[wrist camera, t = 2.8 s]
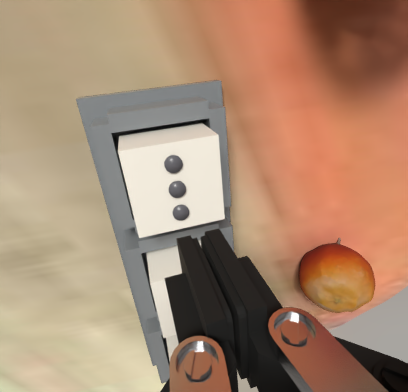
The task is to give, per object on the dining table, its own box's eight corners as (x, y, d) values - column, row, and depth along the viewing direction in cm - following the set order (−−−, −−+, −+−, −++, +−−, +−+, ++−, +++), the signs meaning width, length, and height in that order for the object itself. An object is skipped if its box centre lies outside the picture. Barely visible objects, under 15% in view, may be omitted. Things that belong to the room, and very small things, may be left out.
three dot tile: (202, 123, 20) (219, 135, 17) (209, 195, 23) (225, 220, 19) (118, 135, 19) (117, 152, 16) (136, 210, 22) (139, 239, 18)
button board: (216, 79, 23) (236, 82, 19) (234, 331, 37) (248, 363, 33) (78, 97, 21) (67, 104, 17) (152, 356, 35) (155, 394, 31)
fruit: (367, 269, 36) (382, 326, 30) (303, 271, 39) (305, 323, 33) (364, 222, 33) (381, 275, 26) (294, 227, 36) (294, 276, 29)
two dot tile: (213, 235, 25) (229, 265, 21) (218, 285, 28) (233, 319, 24) (146, 251, 24) (150, 285, 20) (158, 302, 26) (163, 340, 23)
